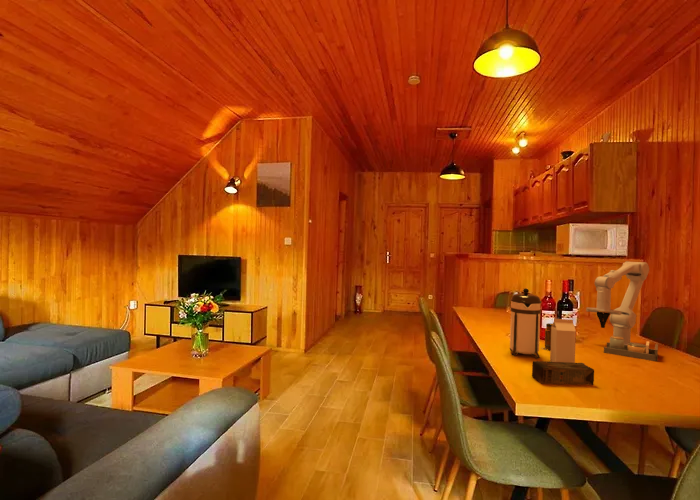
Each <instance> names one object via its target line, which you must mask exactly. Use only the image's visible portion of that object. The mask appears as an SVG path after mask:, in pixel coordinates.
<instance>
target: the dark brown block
mask: <svg viewBox="0 0 700 500" xmlns="http://www.w3.org/2000/svg"><path fill="white" fill-rule="evenodd" d="M531 368H532V369H531V370H532V371H531V376H532V377H533V379H535V380H536V381H537V382H539V383H540V384H541V385H543V384H546V385H574V386H575V385H577V386H578V385H580V386H593V385H594V381H595V369H594V368H592V367H591V366H588V365H586V364H585V363H584V362H575V363H570V362H551V361H546V360H545V361H544V360H540V361H539V360H533V361H532V367H531Z"/></svg>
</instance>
